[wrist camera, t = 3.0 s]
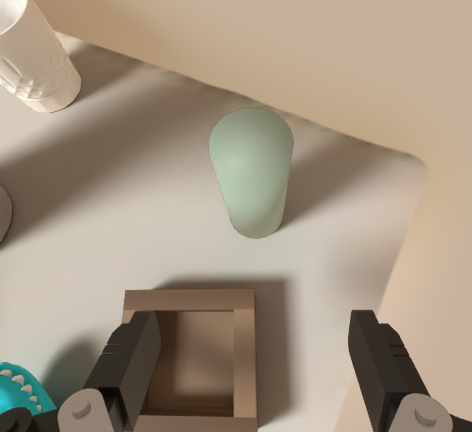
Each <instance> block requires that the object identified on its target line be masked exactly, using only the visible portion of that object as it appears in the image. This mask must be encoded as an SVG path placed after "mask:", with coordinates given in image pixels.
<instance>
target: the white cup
mask: <svg viewBox="0 0 472 432" xmlns="http://www.w3.org/2000/svg"><path fill="white" fill-rule="evenodd" d="M0 84H2V85H3V86H4V87H5V88H6V89H8V90H9V91H10V92H11V93H13V94H14V95H16V96H17V97H18V98H20V99H21V100H22V101H23V102H24V103H25V104H26V105H28V106H29V107H31V108H32V109H34V110H35V111H37V112H47V113H51V112H54V111H57V110H61V109H63V108H65V107H66V106H67V105H69V104H70V103H71V102H73V101H74V100H75V98H76V97H77V95H78V93H79V92H80V90H81V77H80V75H79V73H78V71H77V70H76V68H75V67H74V65H73V64H72V62H71V61H70V59H69V56H68V54H67V52H66V51H65V49H64V48H63V46H62V44H61V43H60V41H59V39H58V38H57V37H56V35H55V33H54V31H53V29H52V28H51V26H50V25H49V23H48V22H47V21H46V19H45V17H44V16H43V14H42V13H41V11H40V10H39V8H38V7H37V5H36V4H35V2H34V1H33V0H0Z"/></svg>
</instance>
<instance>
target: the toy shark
mask: <svg viewBox="0 0 472 432" xmlns="http://www.w3.org/2000/svg"><path fill="white" fill-rule="evenodd" d="M16 407H25V408H27V409H29V410H30V411H31V413H32V415H37V414H40V413H44V412H47V411H51V410H54V409H57V408H56V406H55V405H54V403H53V401H52V400H51V398H50V397H49V395H48V394H47V392H46V391H45V390H44V388H43V387H42V386H41V384H40V383H39V382H38V381H37V379H36V378H35V377H34V376H33V375H32V374H31V373H30V372H28V371H27V370H26V369H24V368H23V367H21V366H18V365H13V364H10V363H7V362H3V363H0V414H2V413H3V412H5V411H7V410H9V409H12V408H16Z"/></svg>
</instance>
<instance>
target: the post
mask: <svg viewBox="0 0 472 432" xmlns="http://www.w3.org/2000/svg"><path fill="white" fill-rule="evenodd" d="M293 146H294V140H293V135H292V132H291V129H290V127H289V126H288V124H287V123H286V122H285V121H284V120H283V119H282V118H281V117H280V116H279V115H277V114H276V113H274V112H272V111H269V110H266V109H262V108H243V109H239V110H236V111H233V112H231V113H229V114H228V115H226V116H225V117H223V118H222V119H221V120H220V121H219V122H218V123H217V124H216V126H215V127H214V129H213V130H212V132H211V135H210V138H209V154H210V157H211V160H212V164H213V167H214V170H215V173H216V176H217V179H218V182H219V186H220V189H221V192H222V195H223V198H224V201H225V204H226V208H227V211H228V214H229V217H230V220H231V223H232V225H233V227H234V228H235V229H236V230H237V231H238V232H239V233H240V234H242V235H243V236H246V237H249V238H255V239H258V238H264V237H267V236H269V235H271V234H272V233H274V232H275V231H276V230H277V229H278V228H279V226H280V224H281V222H282V219H283V214H284V207H285V200H286V193H287V187H288V180H289V173H290V167H291V160H292V153H293Z"/></svg>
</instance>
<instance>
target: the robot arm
mask: <svg viewBox="0 0 472 432" xmlns="http://www.w3.org/2000/svg"><path fill="white" fill-rule="evenodd" d="M11 218H12V203H11V199H10V197H9V195H8V193H7V191H6V190H5V189H4V188H3V187H2V186H1V185H0V242H1V241H2V239H3V238H4V236H5V234H6V233H7V230H8V228H9V226H10V222H11ZM348 347H349V353H350V357H351V360H352V363H353V367H354V370H355V373H356V376H357V379H358V382H359V386H360V389H361V392H362V396H363V399H364V402H365V405H366V409H367V412H368V415H369V418H370V422H371V425H372V428H373V431H374V432H472V422H470V421H467V420H464V419H461V418H458V417H455V416H453V415H451V414H449V413H448V411H447V410H446V409H445V408H444V406H443V405H441V404H440V403H439V402H438V401H436V400H435V399H433V398H431V396H430V395H429V393H428V391H427V389H426V387H425V385H424V383H423V381H422V379H421V377H420V375H419V373H418V371H417V369H416V368H415V365H414V363H413V362H412V359H411V358H410V357H409V354H408V352H407V350H406V348H405V347H404V344H403V342H402V340H401V338H400V336H399V334H398V333H397V332H396V331H395V330H394V329H393V328H392V327H391V326H390V325H389V324H379V323H378V320H377V318H376V316H375V314H374V312H373V311H372V310H352V312H351V318H350V326H349V335H348ZM160 349H161V336H160V331H159V326H158V322H157V317H156V313H155V311H154V310H137V311H135V312H134V314H133V316H132V318H131V320H130V322H129V323H122V324H121V325H120V326H119V327H118V328H117V329H116V330H115V331H114V332H113V333H112V335H111V337H110V338H109V340H108V342H107V346H105V348H104V350H103V352H102V355H100V357H99V359H98V361H97V363H96V365H95V367H94V369H93V371H92V372H91V374H90V376H89V378H88V380H87V382H86V384H85V386H84V387H83V389H82V390H80V391H78V392H76V393H74V394H73V395H71V396H70V397H69V398H68V399H67V400H66V401H65V402H64V403H63V404H62V406H61V407H60V408H57V409H54V410H51V411H47V412H44V413H40V414H37V415H32V413H31V411H30V410H29V409H27V408H25V407H16V408H12V409H9V410H7V411H5V412H3V413H2V414H0V432H123V431H126V432H133V431H134V428H135V425H136V422H137V419H138V416H139V413H140V410H141V407H142V404H143V401H144V398H145V395H146V392H147V389H148V386H149V383H150V380H151V377H152V374H153V371H154V368H155V365H156V362H157V359H158V356H159V353H160Z"/></svg>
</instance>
